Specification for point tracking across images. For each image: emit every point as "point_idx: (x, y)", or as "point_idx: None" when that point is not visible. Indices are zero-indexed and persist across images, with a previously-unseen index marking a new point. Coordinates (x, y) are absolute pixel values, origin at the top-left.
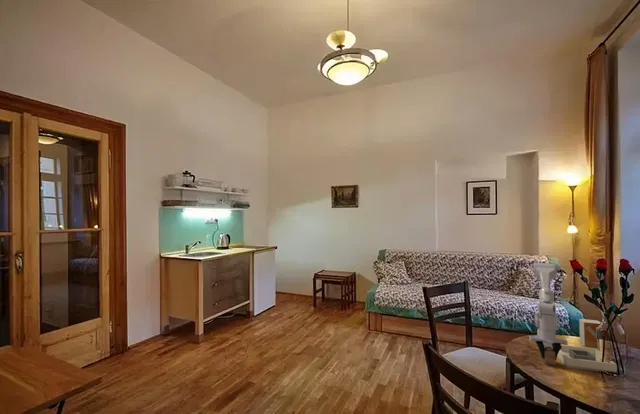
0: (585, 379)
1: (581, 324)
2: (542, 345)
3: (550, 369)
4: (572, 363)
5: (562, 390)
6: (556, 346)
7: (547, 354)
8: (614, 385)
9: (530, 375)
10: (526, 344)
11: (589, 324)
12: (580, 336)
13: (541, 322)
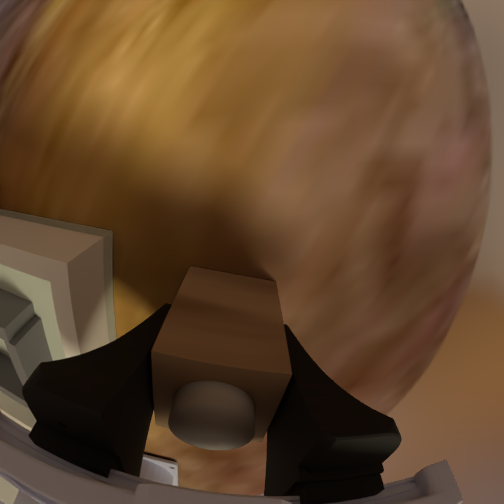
0: (98, 26)
1: (7, 491)
2: (357, 429)
3: (295, 160)
4: (54, 237)
5: None
6: (97, 401)
7: (256, 336)
8: (8, 27)
9: (484, 70)
10: (232, 480)
11: None
12: None
13: None
